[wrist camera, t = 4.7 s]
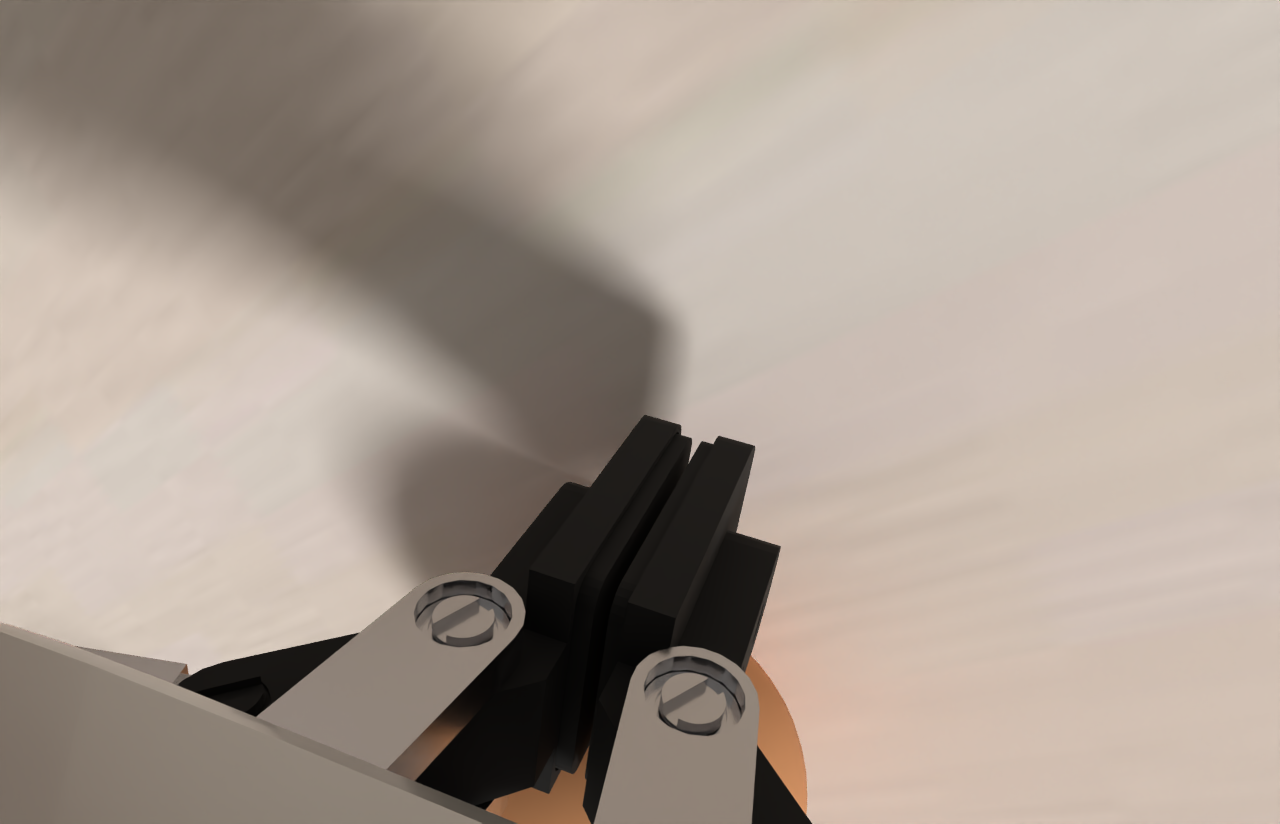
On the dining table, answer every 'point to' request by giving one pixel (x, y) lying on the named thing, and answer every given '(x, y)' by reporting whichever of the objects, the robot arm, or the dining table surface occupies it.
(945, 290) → the dining table surface
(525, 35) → the dining table surface
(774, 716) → the ball
